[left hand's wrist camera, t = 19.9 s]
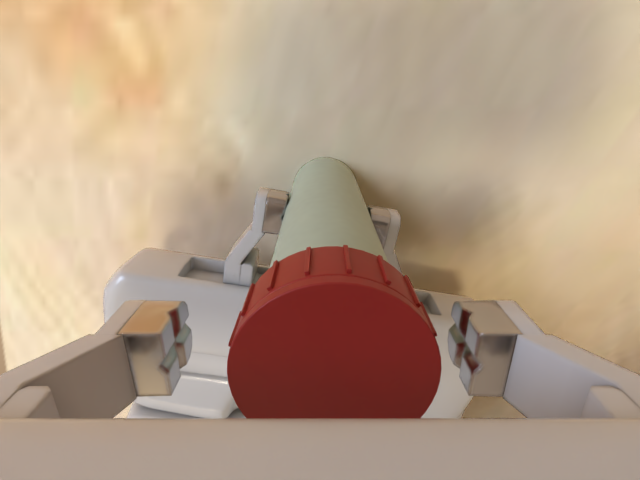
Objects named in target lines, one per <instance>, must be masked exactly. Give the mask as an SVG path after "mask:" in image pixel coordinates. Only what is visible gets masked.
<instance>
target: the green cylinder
mask: <svg viewBox="0 0 640 480" xmlns="http://www.w3.org/2000/svg"><path fill="white" fill-rule="evenodd" d="M343 245H348V247H350V248H354V249H359V250H363V251H365V252H368V253H371V254H374V255H376V256H378V255H381V256H382V257H383V260H385V261H386V262H388V260H387V258H386V255H385V253H384V250H383V248H382V245H381V242H380V240H379V237H378V235H377V232H376V230H375V227H374V225H373V222H372V219H371V217H370V214H369V212H368V209H367V207H366V204H365V202H364V199H363V196H362V194H361V191H360V189H359V186H358V184H357V181H356V179H355V176H354V174H353V172H352V171H351V170H350V168H349V167H348V166H347V165H345V164H344V163H343V162H341V161H339V160H337V159H333V158H326V157H323V158H317V159H314V160H311V161H309V162H307V163H306V164H305V165H304V166H302V167H301V168H300V170H299V171H298V173H297V174H296V176H295V178H294V182H293V185H292V189H291V193H290V196H289V200H288V203H287V207H286V211H285V214H284V218H283V221H282V225H281V228H280V232H279V235H278V239H277V243H276V246H275V250H274V253H273V257H272V261H271V264H270V267H272V266H273V262H274V261H276V260H277V261H278V262H279V261H280V260H282V259H284V258H286V257H288V256H290V255H292V254H295V253H297V252H300V251H303V250H306V248H307V247H311V248H317V247H324V246H340V247H343Z"/></svg>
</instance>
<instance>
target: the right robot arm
mask: <svg viewBox="0 0 640 480" xmlns="http://www.w3.org/2000/svg"><path fill="white" fill-rule="evenodd" d="M288 200H289V192H286V191H280V190H275V189H270V188H264V187H260V188H259V190H258V192H257V195H256V199H255V205H254V214H253V221H252V223H251V224H250V225H249V226H248V227H247V229H246V230H245V231H244V232H243V234H242V235H241V236H240V237H239V239H238V240H237V241H236V242H235V244H234V245H233V247H232V249H231V251H230V252H229V254H228V256H227V258H226V259H220V258H214V257H207V256H201V255H194V254H188V253H181V252H175V251H168V250H162V249H156V248H145V249H142V250H141V251H139V252H138V253H137V254H135V255H134V256H133V257H131V258H130V259H129V260H128V261H126V262H125V263H124V264H123V265H122V266H121V267H120V268H119V269H118V270H117V271H116V272H115V273H114V274H113V275H112V276H111V278H110V279H109V280H108V282H107V284H106V286H105V289H104V297H103V308H104V322H105V323H106V322H107V320H108V319H109V318H110V317H111V316H112V315H113V314H114V313H115V312H116V311H117V310H118V308H119V307H120V306H121V305H122V304H123V303H124V302H125V301H128V300H163V301H185V302H186V304H187V306H188V312H189V316H188V318H187V320H186V322H185V323H186V324H187V325H188V326H189V328H190V329H191V331H192V350H191V355H190V358H189V360H188V363H187V365H185V366H184V367H182V368H181V369H180V374H181V377H180V379H179V382H178V384H177V386H176V388H175V390H174V392H173V394H172V396H144V397H137V399H136V400H134V401H133V403H132V406H131V408H130V410H129V413H128V415H127V418H246V417H245V416H244V415H243V414H242V412H241V411H240V409H239V408H238V406H237V405H236V403H235V400H234V398H233V396H232V394H231V390H230V387H229V384H228V377H227V360H228V354H229V349H230V347H229V346H228V344H229V341H230V338H231V335H232V332H233V329H234V327H235V324H236V321H237V318H238V315H239V313H240V311H242V308H243V305H244V302H245V299H246V297H247V294H248V291H249V288H250V285H251V284H252V283H253V284H255V283H256V282H257V281H258V279H259V278H260V277H261V276H262V275H263V274H264V273H265V272H266V271H267V270H268V269H269V268H270V266H265V265H259V264H258V257H259V250H258V248H254V246H255V245H256V244H257V243H258V241H259V240H260V239H261V238H262V236H263V235H264V234H265V233H271V234H279V232H280V228H281V225H282V221H283V218H284V214H285V211H286V207H287V203H288ZM367 209H368V212H369V214H370V217H371V219H372V222H373V225H374V227H375V230H376V232H377V235H378V237H379V240H380V242H381V245H382V248H383V250H384V253H385V255H386V258H387V260H388V263H389V264H391V265H392V266H394V267H395V268H396V269H397V270H398V271H399V272H400V273H401V274H402V272H401V269H400V266H399V263H398V260H397V256H396V253H395V251H394V248H395V244H396V240H397V237H398V233H399V229H400V225H401V216H400V214H399V213H398V211H397V210H396V209H390V208H384V207H377V206H371V205H368V206H367ZM414 290H415V293H416V295H417V297H418V299H419V301H420V302H422V303H423V305H424V307H425V309H426V312H427V314H428V316H429V318H430V320H431V322H432V324H433V326H434V328H435V330H436V333H437V336H436V337H435V338H436V341H437V343H438V346H439V350H440V355H441V368H442V370H441V378H440V383H439V386H438V390H437V393H436V395H435V397H434V399H433V401H432V403H431V405H430V406H429V408H428V409H427V411H426V412H425V414H424V415H423V416H422V417H421V418H461V417H462V415H463V413H464V410H465V408H466V407H467V405H468V404H469V402H470V401H471V400H472V398H473V397H474V396H468V394H467V392H466V390H465V388H464V386H463V384H462V381H461V379H460V377H459V374H460V369H459V368H458V367H456V366H455V365H453V363H452V361H451V358H450V355H449V351H448V341H447V340H448V331H449V329H450V327H451V326H452V325H453V324H454V323H455V322H454V320H453V318H452V316H451V311H452V306H453V304H454V302H456V301H474V300H473V299H472V298H470V297H466V296H460V295H454V294H447V293H441V292H434V291H428V290H421V289H415V288H414Z"/></svg>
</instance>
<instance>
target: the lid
mask: <svg viewBox="0 0 640 480" xmlns="http://www.w3.org/2000/svg"><path fill="white" fill-rule="evenodd" d="M436 336H437V333H436V330H435V328H434V326H433V324H432V322H431V320H430V318H429V316H428V314H427V312H426V309H425V307H424V305H423V303H422V302H420V301H419V299H418V297H417V295H416V293H415V290H414V288H413V286H412V284H411V282H410V280H409V278H408V276H407V275H405V276H403V275H402V274H401V273H400V272H399V271H398V270H397V269H396V268H395V267H394V266H392V265H391V264H389V263H388V262H386V261H385V260H383V257H382V256H381V255H378V256H376V255H374V254H371V253H368V252H365V251H363V250H359V249H354V248H350V247H348V245H343V247H340V246H324V247H317V248H311V247H307V248H306V250H303V251H300V252H297V253H295V254H292V255H290V256H288V257H286V258H284V259H282V260H280V261H279V262H278V261H277V260H276V261H274V262H273V266H272V267H270V268H269V269H268V270H267V271H266V272H265V273H264V274H263V275H262V276H261V277H260V278H259V279H258V281H257V282H256V283H255V284H253V283H252V284H251V285H250V288H249V291H248V294H247V297H246V299H245V302H244V305H243V308H242V311H240V313H239V315H238V318H237V321H236V324H235V327H234V329H233V332H232V335H231V338H230V341H229V344H228V346H229V347H230V349H229V354H228V360H227V377H228V384H229V387H230V390H231V394H232V396H233V398H234V400H235V403H236V405H237V406H238V408H239V409H240V411H241V412H242V414H243V415H244V416H245V417H246V418H421V417H422V416H423V415H424V414H425V412H426V411H427V409H428V408H429V406H430V405H431V403H432V401H433V399H434V397H435V395H436V393H437V390H438V386H439V383H440V378H441V370H442V368H441V355H440V350H439V346H438V343H437V341H436V338H435V337H436Z"/></svg>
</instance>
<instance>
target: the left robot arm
mask: <svg viewBox="0 0 640 480" xmlns="http://www.w3.org/2000/svg"><path fill="white" fill-rule="evenodd" d="M188 316H189V312H188V306H187V304H186V302H185V301H163V300H128V301H125V302H124V303H123V304H122V305H121V306H120V307H119V308H118V310H117V311H116V312H115V313H114V314H113V315H112V316H111V317H110V318H109V319H108V320H107V322H106V323H105V324H104V325H103V326H102V327H101V328H100V329H99V330H98V331H97V332H96V333H95V335H86V336H84V337H82V338H80V339H78V340H75V341H73V342H71V343H69V344H67V345H64V346H62V347H60V348H58V349H56V350H54V351H51V352H49V353H47V354H45V355H43V356H40V357H38V358H36V359H34V360H32V361H29V362H27V363H25V364H23V365H21V366H19V367H16V368H14V369H12V370H10V371H8V372H5V373H3V374H1V375H0V480H640V375H639V374H637V373H634V372H632V371H630V370H628V369H626V368H623V367H621V366H619V365H617V364H615V363H613V362H610V361H608V360H606V359H604V358H602V357H599V356H597V355H595V354H593V353H591V352H589V351H586V350H584V349H582V348H580V347H578V346H575V345H573V344H571V343H569V342H567V341H565V340H562V339H560V338H558V337H556V336H554V335H545V333H544V332H543V331H542V330H541V329H540V328H539V327H538V326H537V325H536V324H535V323H534V321H533V320H532V319H531V318H530V317H529V316H528V315H527V314H526V313H525V312H524V311H523V310H522V308H521V307H520V306H519V305H518V304H517V303H516V302H515V301H513V300H490V301H456V302H454V304H453V306H452V311H451V316H452V318H453V320H454V322H455V323H454V324H453V325H452V326H451V327H450V329H449V331H448V340H447V341H448V351H449V355H450V358H451V361H452V363H453V365H455V366H456V367H458V368H459V369H460V374H459V377H460V379H461V381H462V384H463V386H464V388H465V390H466V392H467V394H468V396H495V397H503V399H505V400H506V401H507V402H508V403H509V404H511V405H512V406H513V407H514V408H516V409H517V410H518V411H519V412H521V413H522V414H523V415H524V416H525V417H527V418H113V417H115V416H116V415H117V414H118V413H120V412H121V411H122V410H123V409H125V408H126V407H127V406H128V405H129V404H131V403H132V402H133V401H134V400H136V399H137V397H144V396H172V394H173V392H174V390H175V388H176V386H177V384H178V382H179V379H180V377H181V374H180V369H181V368H182V367H184V366H185V365H187V363H188V360H189V358H190V355H191V350H192V331H191V329H190V328H189V326H188V325H187V324H186V323H185V322H186V320H187V318H188Z"/></svg>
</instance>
